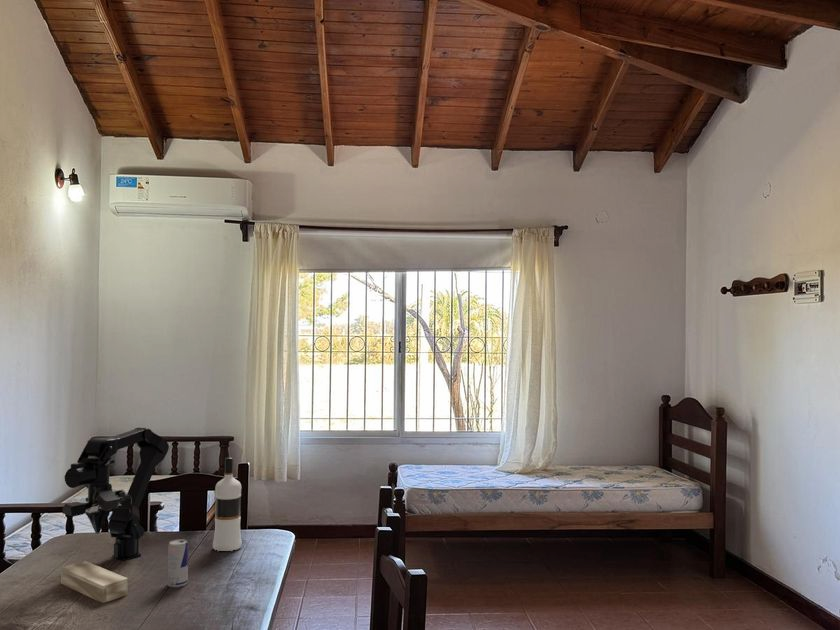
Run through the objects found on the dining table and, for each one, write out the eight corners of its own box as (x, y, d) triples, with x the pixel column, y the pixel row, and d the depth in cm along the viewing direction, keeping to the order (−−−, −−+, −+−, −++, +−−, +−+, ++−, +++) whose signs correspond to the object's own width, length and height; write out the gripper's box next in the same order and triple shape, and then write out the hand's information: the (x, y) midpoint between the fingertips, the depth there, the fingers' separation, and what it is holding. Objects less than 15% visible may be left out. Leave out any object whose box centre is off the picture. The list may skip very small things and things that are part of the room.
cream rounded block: (85, 576, 199) (85, 561, 199) (127, 595, 186) (127, 578, 186) (60, 583, 193) (61, 567, 194) (102, 603, 180) (103, 585, 180)
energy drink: (191, 582, 196) (192, 540, 196) (179, 588, 191) (180, 545, 191) (176, 579, 197) (176, 538, 198) (163, 586, 192) (164, 543, 193)
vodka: (218, 554, 220) (220, 461, 220) (208, 547, 227) (210, 456, 228) (246, 549, 225) (247, 458, 226) (235, 542, 233) (236, 454, 233)
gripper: (81, 490, 193) (80, 545, 193) (142, 479, 208) (141, 530, 208) (62, 484, 200) (61, 538, 199) (122, 474, 215) (121, 524, 214)
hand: (97, 532), depth 205 cm, fingers closed
